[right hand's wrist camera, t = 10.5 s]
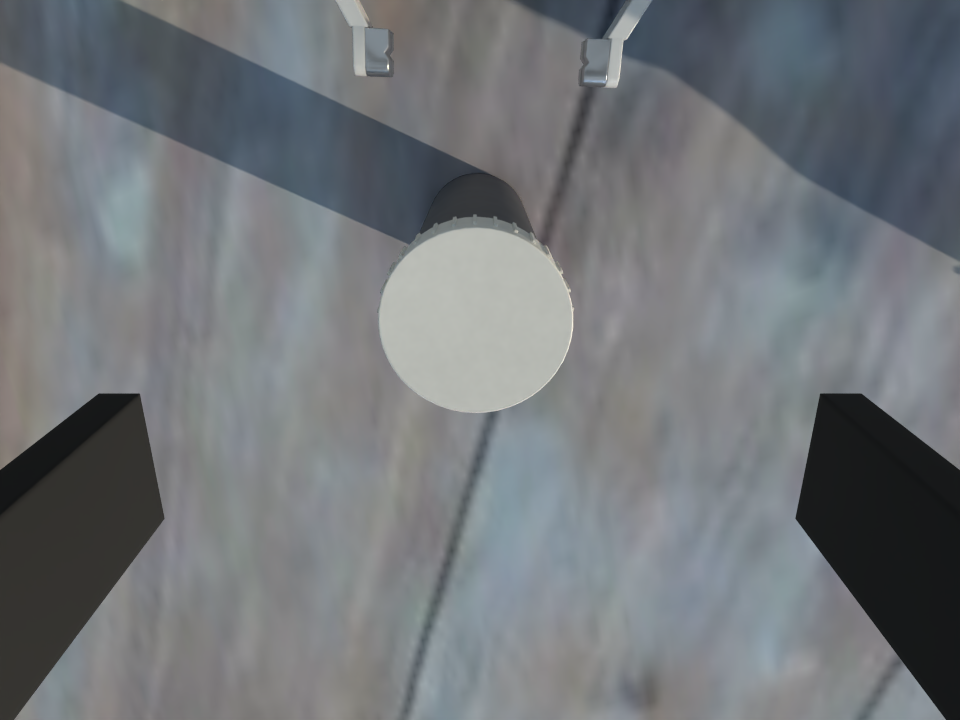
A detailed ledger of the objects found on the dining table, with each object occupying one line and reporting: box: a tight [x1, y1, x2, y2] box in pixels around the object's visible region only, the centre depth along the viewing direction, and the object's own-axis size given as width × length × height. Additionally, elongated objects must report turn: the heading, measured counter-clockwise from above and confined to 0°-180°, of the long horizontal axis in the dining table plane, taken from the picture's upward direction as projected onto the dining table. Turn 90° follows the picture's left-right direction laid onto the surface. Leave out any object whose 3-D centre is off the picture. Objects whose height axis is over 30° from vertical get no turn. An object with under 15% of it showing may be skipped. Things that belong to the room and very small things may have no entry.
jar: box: [420, 173, 536, 239], centre depth 29 cm, size 5×5×17 cm
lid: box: [377, 214, 574, 413], centre depth 21 cm, size 6×6×2 cm
